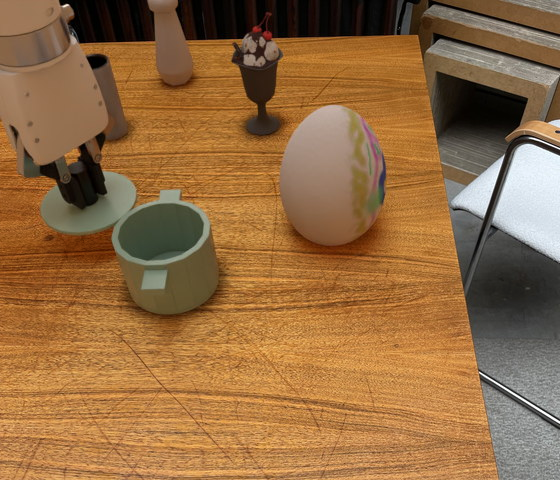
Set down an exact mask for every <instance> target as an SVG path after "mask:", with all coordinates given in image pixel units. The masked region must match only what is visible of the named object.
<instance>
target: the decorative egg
mask: <svg viewBox="0 0 560 480" xmlns="http://www.w3.org/2000/svg"><path fill="white" fill-rule="evenodd" d="M372 128H373V127H371V126H370V124H369V123H368V122H367V121H366V119H365V118H363V117H362V115H360V114H359V113H357V112H356V111H355V110H353V109H352V108H350V107H347V106H344V105H340V104H329V105H324V106H322V107H319V108H317V109H315V110H313V111H312V112H311V113H310V114H308V115H307V116H306V117H305V118H304V119H303V120H302V121H301V122H300V123H299V125H298V126H297V127H296V129H294V131H293V133H292V134H291V136H290V138H289V140H288V142H287V144H286V147H285V149H284V152H283V156H282V159H281V163H280V167H279V168H280V169H279V178H278V179H279V181H278V182H279V183H278V184H279V185H278V186H279V197H280V201H281V206H282V208H283V210H284V211H283V212H284V213H285V215H286V218H287V220H288V221H289V223H290V224H291V225H292V226H293V228H294V229H295V231H297V232H298V233H299V234H300V235H301V236H302V237H303V238H305V239H306V240H308V241H310V242H312V243H314V244H317V245H321V246H327V247H328V246H329V247H335V246H342V245H347V244H349V243H352V242H354V241H356V240H357V239H359V238H360V237H361V236H363V235H364V234H365V233H366V232H367V231H368V230H370V229H371V227H372V226H373V225H374V223H375V222H376V220H377V218H378V217H379V214H380V213H381V211H382V208H383V206H384V201H385V198H386V194H387V193H386V192H387V183H388V177H387V175H388V174H387V165H386V159H385V155H384V152H383V149H382V146H381V144H380V140H379V139H378V136H377V135H376V133H375V131H374V130H373V129H372Z"/></svg>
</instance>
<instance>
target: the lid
mask: <svg viewBox="0 0 560 480" xmlns="http://www.w3.org/2000/svg"><path fill="white" fill-rule="evenodd" d="M67 166H68V169H69V172H70V174H71V176H73V177H74V178H76V179H77V181H78V183H79V186H80V188H81V191H82V194H83V196H84V199H85V202H86V208H84V209H83V210H81V209H80V208H78V207H76V206H75V205H73V204H69V203H67V202H66V201H65V200H64V199H63V197H62V195H61V193H60V190H59V188H58V185H57V184H55V185H54V186H53V187H51V188H50V189H49V190H48V192H47V193H46V194H45V195H44V196H43V198H42V201H41V203H40V206H39V208H40V209H39V212H40V217H41V218H42V221H43V222H44V224H45V225H46V226H47V227H48V228H50V230H52V231H54V232H57V233H59V234H63V235H67V236H88V235H94V234H97V233H101V232H104V231H106V230H109V229H111V228H114V226H115V225H116V224H117V222H118V221H119V220H120V219H121V218H122V217H123V215H124V214H126V213H127V212H129V211H131V210H132V209H134V208H136V205H137V202H138V192H137V188H136V185H135V184H134V183H133V181H132V180H131V179H130V178H128V177H127V176H126V175H123V174H120V173H117V172H113V171H110V170H109V171H107V170H102V171H103V174H104V177H105V182H104V184H105V187H106V190H107V194H105V195H104V196H103V195H100V194H98V193H97V192H96V189H95V186H94V183H93V180H92V178H91V175H90V172H89V169H88V166H87V164H86V163H85V162H82V161H78V160H76V161H73V162H71V163H69V164H67Z"/></svg>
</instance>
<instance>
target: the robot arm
mask: <svg viewBox="0 0 560 480" xmlns="http://www.w3.org/2000/svg"><path fill="white" fill-rule="evenodd" d="M74 18H75V12H74V9H73V8H72V7H71V5H70V4H68V3H65V4H63V5H61V3H60V0H0V120H1V123H2V126H3V128H4V131H5V133H6V136H7V138H8V141H9V143H10V145H11V147H12V149H13V150H14V152H16V172H17V174H19V175H21V176H22V177H24V178H26V179H31V178H33V179H34V178H40V177H45V178H49V179H52V180H54V181H55V183H56V185H58V188H59V190H60V193H61V195H62V197H63V199H64V200H65V201H66V202H67V203H69V204H73V205H75V206H76V207H78V208H80V209H81V210H83V209H84V208H86V202H85V199H84V196H83V194H82V191H81V188H80V186H79V183H78V181H77V179H76V178H74V177H73V176H71V174H70V172H69V169H68V163H67V160H66V157H65V156H66V155H67V154H68V153H70V152H72V151H73V150H75V149H77V152H78V154H79V156H77V161H82V162H85V163H86V164H87V166H88V169H89V172H90V175H91V178H92V180H93V183H94V186H95V189H96V192H97V193H98V194H100V195H103V196H104V195H105V194H107V190H106V187H105V184H104V182H105V177H104V174H103V171H104V170H103V168H102V166H101V162H102V160H103V154H102V151H103V147H104V144H105V143H106V140H105V139H106V135H108V134H109V132H110V131H111V129H112V128H113V127H114V125H115V122H116V121H115V119H114V118H113V116H112V115H111V114H110V113H109V112H108V111H107V110H106V106H105V103H104V100H103V97H102V94H101V91H100V88H99V86H98V83H97V80H96V78H95V76H94V73H93V71H92V69H91V67H90V65H89V62H88V60H87V58H86V56H85V55H86V54H85V52H84V51H83V49H82V47H81V46H80V43H79V42H78V40H77V39H76V37H75V36H73V35H72V34H71V31H70V28H69V23H70V21H71V20H73V19H74Z"/></svg>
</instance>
